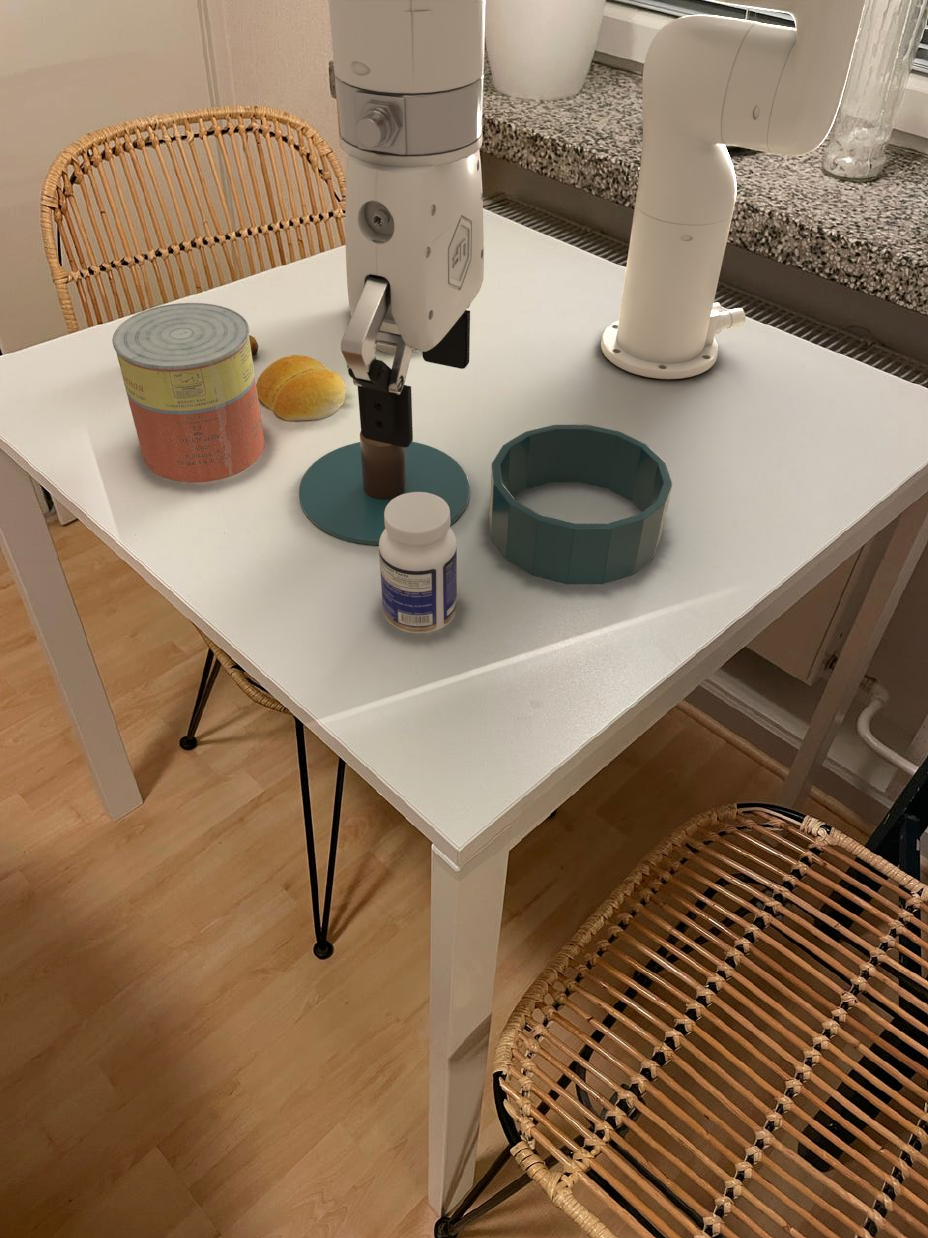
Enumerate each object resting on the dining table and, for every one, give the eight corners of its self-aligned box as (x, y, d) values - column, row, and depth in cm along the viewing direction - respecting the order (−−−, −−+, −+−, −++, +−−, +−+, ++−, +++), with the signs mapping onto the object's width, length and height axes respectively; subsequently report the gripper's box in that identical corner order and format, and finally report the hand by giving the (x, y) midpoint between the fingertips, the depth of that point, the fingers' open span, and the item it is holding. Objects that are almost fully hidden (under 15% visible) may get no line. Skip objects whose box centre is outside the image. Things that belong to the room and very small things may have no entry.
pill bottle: (426, 578, 77) (424, 476, 70) (471, 616, 74) (474, 514, 67) (367, 608, 74) (360, 506, 67) (412, 649, 71) (409, 547, 64)
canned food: (187, 409, 94) (163, 293, 86) (288, 434, 91) (273, 316, 83) (117, 470, 87) (83, 349, 78) (225, 499, 84) (202, 377, 75)
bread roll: (295, 435, 91) (291, 399, 88) (246, 397, 96) (240, 361, 93) (365, 406, 95) (363, 370, 92) (314, 370, 100) (310, 335, 97)
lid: (430, 435, 92) (429, 373, 87) (497, 524, 82) (501, 461, 77) (279, 470, 87) (270, 407, 83) (332, 569, 77) (325, 504, 73)
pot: (603, 468, 88) (612, 410, 84) (691, 561, 79) (706, 501, 75) (462, 505, 84) (463, 445, 80) (538, 608, 75) (544, 547, 70)
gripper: (412, 181, 42) (420, 489, 55) (530, 73, 54) (515, 347, 66) (263, 158, 44) (303, 461, 56) (408, 58, 56) (415, 328, 68)
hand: (418, 399), depth 61 cm, fingers open, 9 cm apart
